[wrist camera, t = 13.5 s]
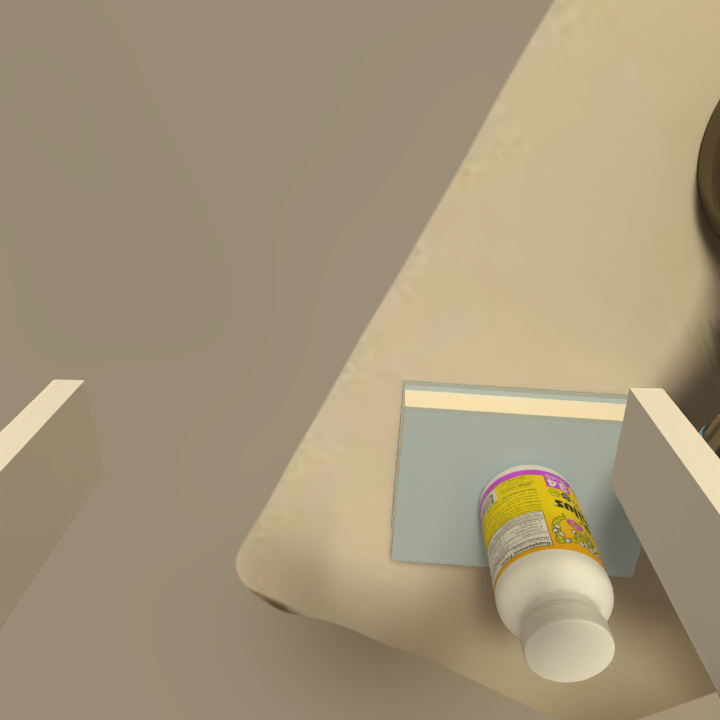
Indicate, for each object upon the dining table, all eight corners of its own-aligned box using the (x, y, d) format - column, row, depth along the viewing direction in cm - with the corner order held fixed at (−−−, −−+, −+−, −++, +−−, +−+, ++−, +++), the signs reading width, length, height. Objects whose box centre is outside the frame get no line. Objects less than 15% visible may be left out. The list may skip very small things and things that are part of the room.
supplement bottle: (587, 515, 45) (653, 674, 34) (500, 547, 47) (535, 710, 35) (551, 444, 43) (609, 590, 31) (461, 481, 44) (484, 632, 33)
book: (654, 397, 46) (678, 429, 42) (614, 538, 51) (632, 577, 47) (403, 380, 46) (404, 410, 42) (391, 522, 52) (390, 560, 48)
